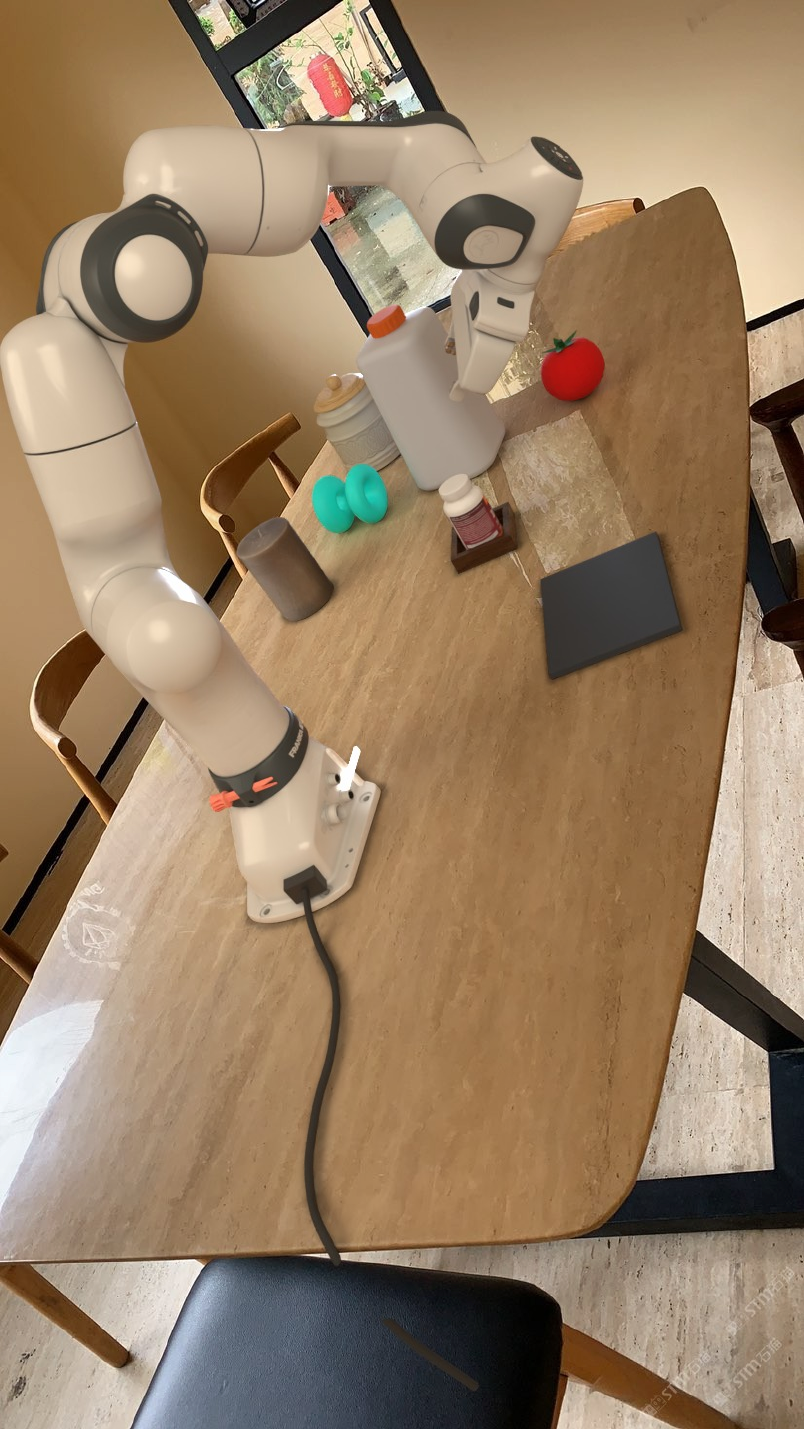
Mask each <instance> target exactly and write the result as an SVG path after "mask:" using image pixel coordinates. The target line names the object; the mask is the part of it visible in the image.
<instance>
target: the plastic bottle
mask: <svg viewBox="0 0 804 1429" xmlns="http://www.w3.org/2000/svg"><path fill="white" fill-rule="evenodd" d="M366 329H367V330H368V332H369V335H368V337H367V338H366V339H365V341H364V343H363V344H362V346H361V348H360V350H359V352H358V354H357V356H356V359H355V363H356V367H357V369H358V370H359V374H361V375H362V377H363V379H364V381H365V383H366V385H367V387H368V389H369V391H370V393H371V395H372V397H373V399H374V401H375V403H376V405H377V407H378V409H379V411H380V413H381V415H382V417H383V419H384V421H385V423H386V425H387V427H388V429H389V431H390V433H391V435H392V437H393V439H394V441H395V443H396V445H397V447H398V449H399V451H400V455H401V457H402V460H403V461H404V463H405V465H406V467H407V469H408V471H409V473H410V475H411V477H412V479H413V481H414V482H415V485H416V486H417V487H418V488H419V489H421V490H422V491H427V492H431V491H436V490H439V488H440V486H441V485H442V484H443V483H444V482H445V481H446V480H448V479H449V478H451V477H453V476H455V475H458V474H466V475H467V476H468V477H469V479H470V480H471V479H475V478H476V477H478V476H480V475H482V474H483V473H485V472H486V471H487V470H488V469H489V468H490V467H491V466H492V465H493V464H494V463H495V460H496V458H497V456H498V453H499V451H500V448H501V445H502V443H503V441H504V438H505V436H506V426H505V424H504V423H503V421H502V419H501V417H500V416H499V414H498V412H497V411H496V410H495V408H494V406H493V405H492V403H491V401H490V400H489V398H488V396H487V394H485V395H479V394H476V393H472V392H468V393H467V394H466V395H465V397H464V399H463V401H462V402H456V401H453V400H451V399H450V396H449V389H450V388H451V385H452V383H453V381H455V382H456V381H457V380H458V379H459V378H458V375H459V374H458V364H457V355H452V354H448V353H446V351H445V341H446V339H447V337H448V335H449V332H448V331H447V330H446V328H445V326H444V325H443V323H442V322H441V320H440V318H439V316H438V315H437V313H436V311H435V310H434V309H433V308H431V307H428V306H422V307H421V306H420V307H419V308H415V309H413V310H410V311H408V312H406V313H405V312H404V310H403V309H402V306H401V305H399V304H395V303H394V304H390V305H387V306H385V307H383V308H381V309H380V310H378V311H377V312H376V313H374V314H373V315H372V316H371V317H370V318H369V319H368V320H367V323H366Z"/></svg>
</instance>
